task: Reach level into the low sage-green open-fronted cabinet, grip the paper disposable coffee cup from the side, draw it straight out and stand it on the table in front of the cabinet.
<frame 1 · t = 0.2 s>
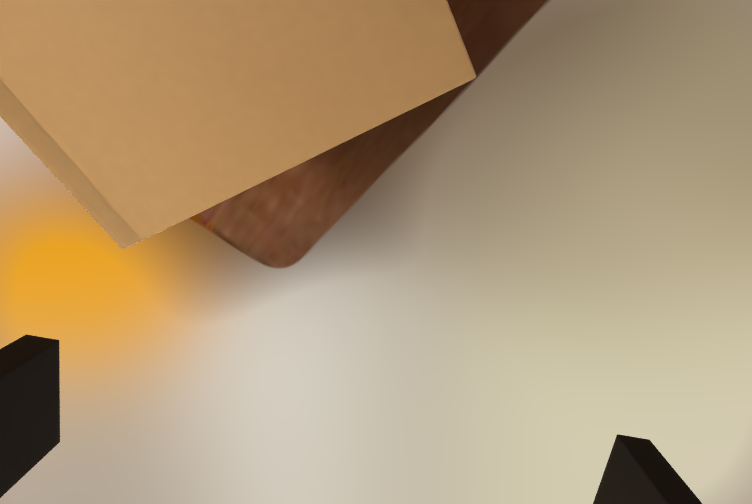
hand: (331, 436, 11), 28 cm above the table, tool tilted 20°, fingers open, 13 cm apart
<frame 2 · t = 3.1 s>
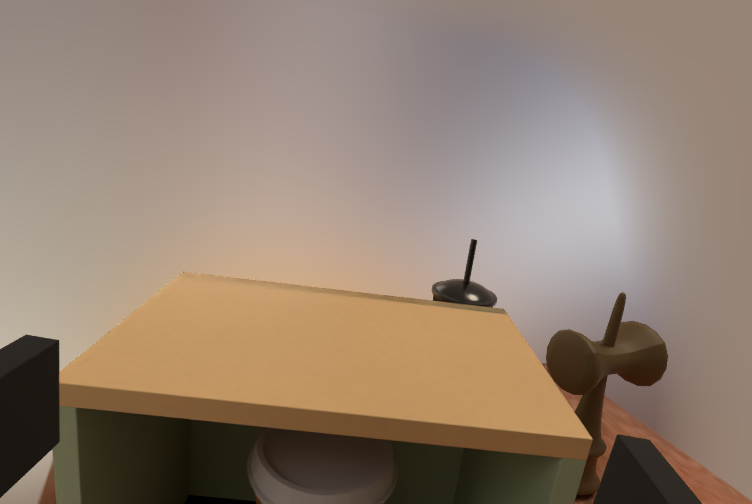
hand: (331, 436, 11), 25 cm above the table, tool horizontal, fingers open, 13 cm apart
drinking cup: (445, 394, 59), on the table
kendama: (568, 482, 47), on the table
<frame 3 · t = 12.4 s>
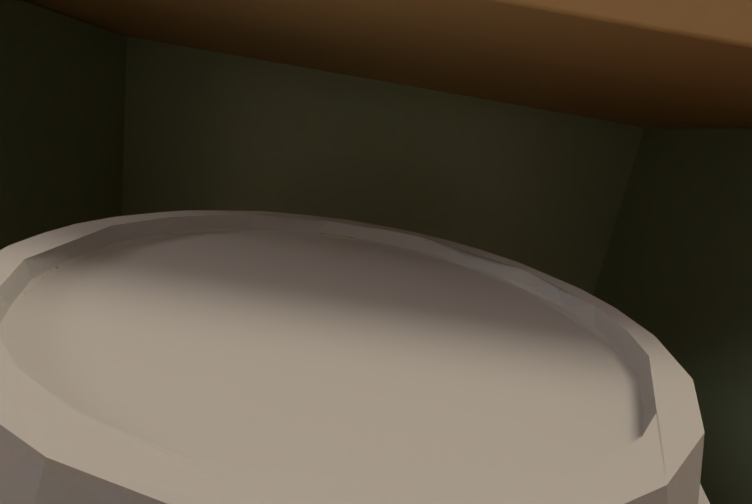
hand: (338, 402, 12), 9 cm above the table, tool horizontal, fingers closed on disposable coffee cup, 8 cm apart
when the fingers open (7 cm above the table, at t = 15.2 s): disposable coffee cup stays where it is, on the table.
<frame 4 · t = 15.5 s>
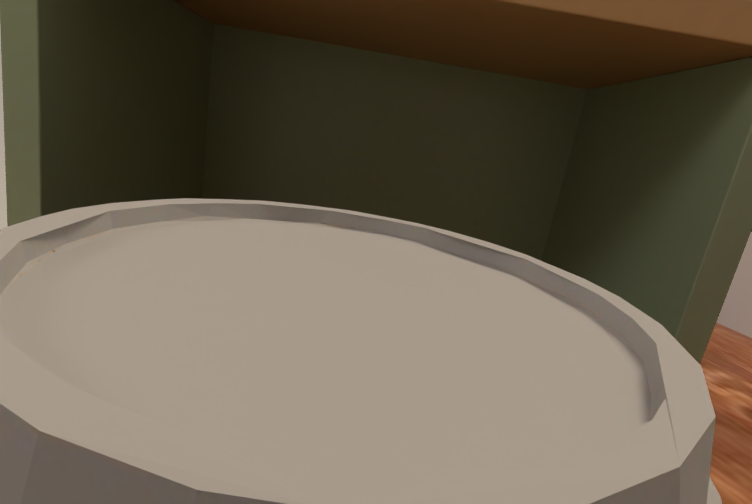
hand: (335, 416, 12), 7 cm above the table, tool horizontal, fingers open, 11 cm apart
cabinet: (343, 394, 25), on the table
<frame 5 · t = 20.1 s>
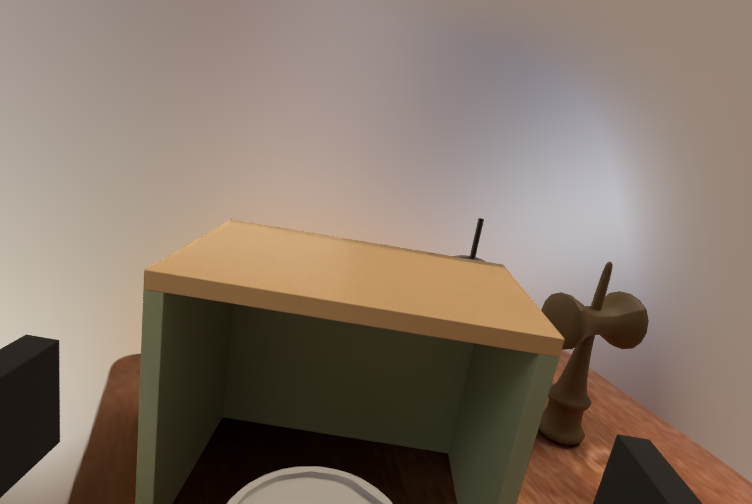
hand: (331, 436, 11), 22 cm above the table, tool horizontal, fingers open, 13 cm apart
cabinet: (326, 489, 39), on the table
kendama: (556, 435, 52), on the table
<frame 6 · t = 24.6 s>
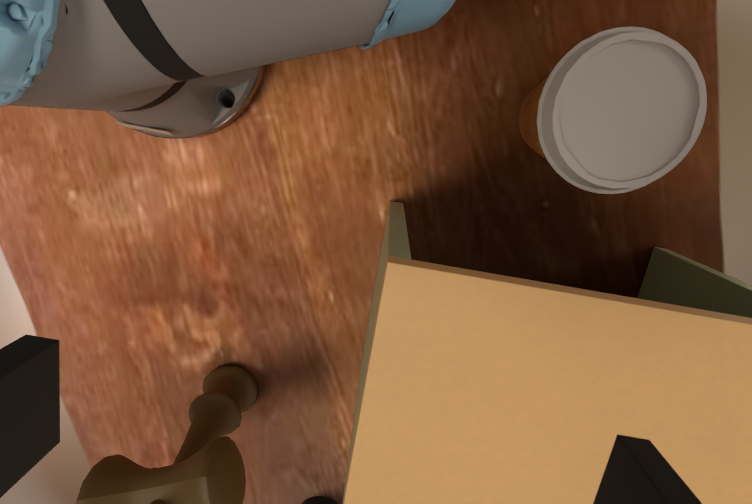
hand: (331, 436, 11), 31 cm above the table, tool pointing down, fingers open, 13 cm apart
disposable coffee cup: (556, 117, 38), on the table
cabinet: (509, 299, 42), on the table
kendama: (233, 385, 46), on the table
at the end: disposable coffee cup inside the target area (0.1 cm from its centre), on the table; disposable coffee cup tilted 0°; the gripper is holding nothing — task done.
